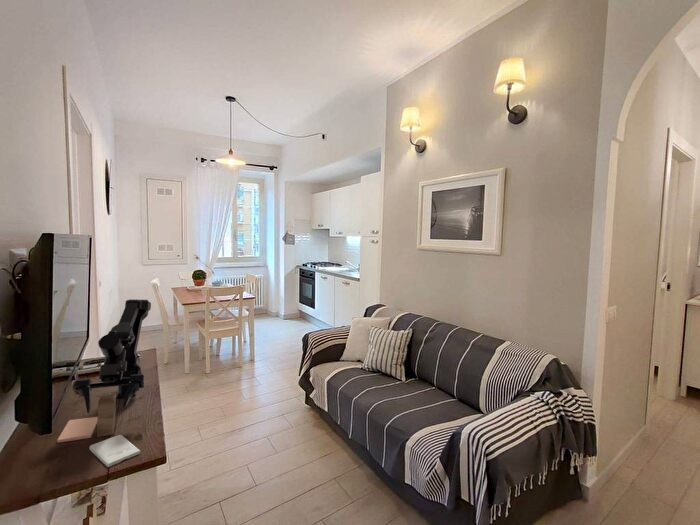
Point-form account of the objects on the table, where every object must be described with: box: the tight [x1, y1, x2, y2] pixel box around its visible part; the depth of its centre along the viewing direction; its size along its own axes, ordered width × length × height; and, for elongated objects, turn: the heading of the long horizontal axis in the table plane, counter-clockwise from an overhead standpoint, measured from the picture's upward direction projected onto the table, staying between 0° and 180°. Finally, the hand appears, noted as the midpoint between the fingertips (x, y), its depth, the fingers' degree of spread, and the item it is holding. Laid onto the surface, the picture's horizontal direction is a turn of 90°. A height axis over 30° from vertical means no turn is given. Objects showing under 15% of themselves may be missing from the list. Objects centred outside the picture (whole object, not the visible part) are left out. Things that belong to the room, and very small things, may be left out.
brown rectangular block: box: [96, 394, 117, 438], centre depth 106 cm, size 4×4×11 cm
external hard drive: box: [89, 434, 141, 468], centre depth 98 cm, size 2×8×12 cm
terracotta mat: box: [56, 416, 98, 444], centre depth 107 cm, size 12×8×1 cm, turn 26°
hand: (106, 410), depth 106 cm, fingers open, 9 cm apart
